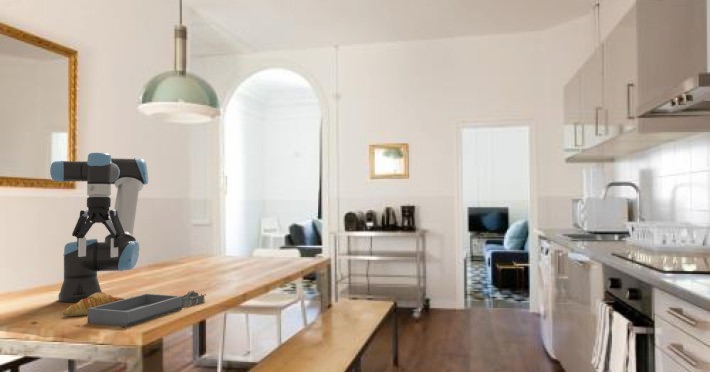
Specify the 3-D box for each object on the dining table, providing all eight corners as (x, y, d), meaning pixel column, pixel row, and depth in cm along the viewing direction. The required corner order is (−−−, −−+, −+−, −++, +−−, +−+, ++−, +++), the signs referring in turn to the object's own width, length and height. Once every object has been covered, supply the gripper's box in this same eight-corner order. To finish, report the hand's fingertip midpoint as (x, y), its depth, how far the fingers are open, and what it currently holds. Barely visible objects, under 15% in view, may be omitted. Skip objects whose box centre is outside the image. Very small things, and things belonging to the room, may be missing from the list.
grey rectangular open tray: (87, 322, 157) (87, 308, 157) (146, 305, 182) (146, 293, 182) (127, 326, 152) (127, 312, 152) (182, 308, 177) (182, 296, 177)
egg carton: (194, 300, 193) (194, 289, 193) (208, 302, 189) (208, 291, 189) (172, 305, 183) (172, 294, 183) (186, 307, 180) (186, 296, 180)
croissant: (67, 329, 162) (72, 309, 160) (53, 312, 167) (59, 292, 165) (127, 315, 180) (133, 297, 178) (113, 299, 185) (119, 281, 183)
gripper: (61, 196, 174) (60, 257, 173) (121, 195, 167) (120, 258, 166) (78, 197, 181) (77, 255, 180) (136, 196, 175) (135, 256, 174)
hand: (98, 256), depth 173 cm, fingers open, 13 cm apart
